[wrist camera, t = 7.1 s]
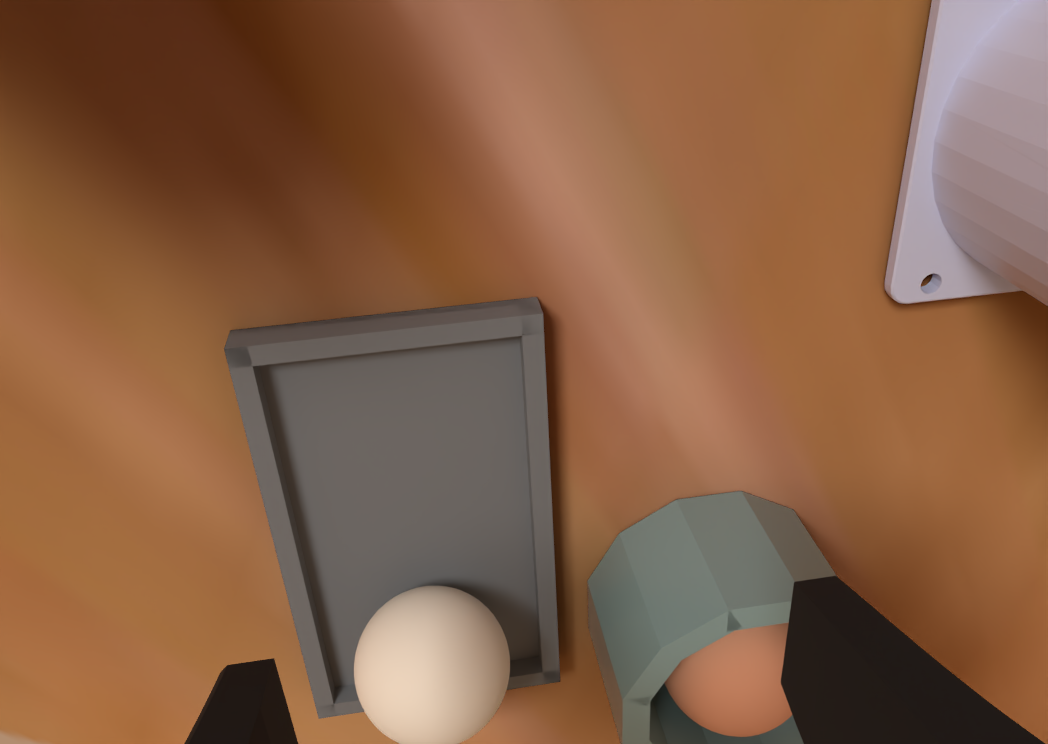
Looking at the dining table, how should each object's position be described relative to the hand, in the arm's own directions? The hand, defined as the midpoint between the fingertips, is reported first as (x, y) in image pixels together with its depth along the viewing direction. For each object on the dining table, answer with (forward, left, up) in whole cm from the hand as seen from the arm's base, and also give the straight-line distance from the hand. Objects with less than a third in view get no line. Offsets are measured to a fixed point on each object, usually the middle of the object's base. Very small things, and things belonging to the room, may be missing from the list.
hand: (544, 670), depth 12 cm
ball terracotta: (-6, +9, -9) cm, 14 cm away
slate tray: (+2, +5, -10) cm, 11 cm away
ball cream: (+2, +8, -10) cm, 13 cm away
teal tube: (-6, +9, -10) cm, 15 cm away
